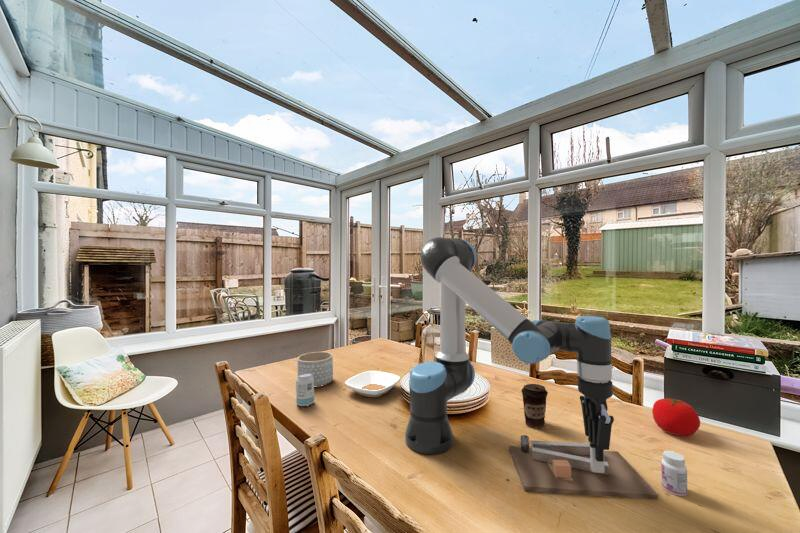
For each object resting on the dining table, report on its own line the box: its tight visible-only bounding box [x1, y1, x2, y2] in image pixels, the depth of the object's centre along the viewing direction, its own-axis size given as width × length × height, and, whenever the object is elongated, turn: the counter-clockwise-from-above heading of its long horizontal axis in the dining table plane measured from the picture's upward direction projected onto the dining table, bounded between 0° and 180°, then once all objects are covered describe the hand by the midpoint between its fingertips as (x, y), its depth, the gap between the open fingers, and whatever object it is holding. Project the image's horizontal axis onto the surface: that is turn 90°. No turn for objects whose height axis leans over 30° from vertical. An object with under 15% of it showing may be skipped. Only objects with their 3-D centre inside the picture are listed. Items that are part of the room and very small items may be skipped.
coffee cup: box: [520, 383, 549, 429], centre depth 108 cm, size 9×8×13 cm
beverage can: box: [295, 373, 315, 407], centre depth 128 cm, size 7×7×12 cm
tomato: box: [651, 397, 701, 437], centre depth 102 cm, size 11×12×10 cm
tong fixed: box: [520, 434, 590, 455], centre depth 90 cm, size 21×2×4 cm, turn 83°
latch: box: [553, 460, 571, 478], centre depth 81 cm, size 4×2×3 cm, turn 83°
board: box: [508, 445, 660, 501], centre depth 83 cm, size 30×17×1 cm, turn 83°
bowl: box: [344, 370, 402, 398], centre depth 140 cm, size 22×22×5 cm
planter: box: [296, 351, 334, 386], centre depth 151 cm, size 16×16×13 cm
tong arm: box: [532, 447, 609, 475], centre depth 84 cm, size 18×2×2 cm, turn 66°
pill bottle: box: [660, 450, 689, 497], centre depth 76 cm, size 5×5×8 cm
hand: (597, 470), depth 80 cm, fingers closed
